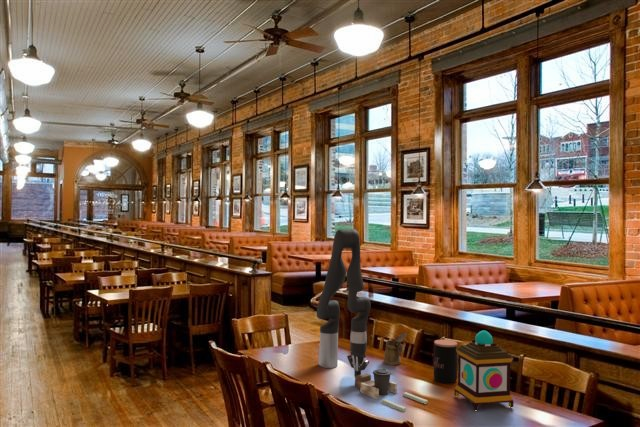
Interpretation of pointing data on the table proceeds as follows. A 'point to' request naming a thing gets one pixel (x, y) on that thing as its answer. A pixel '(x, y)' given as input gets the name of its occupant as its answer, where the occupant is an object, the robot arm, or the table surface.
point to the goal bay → (402, 406)
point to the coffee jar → (445, 361)
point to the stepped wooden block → (376, 389)
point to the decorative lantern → (484, 372)
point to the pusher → (364, 380)
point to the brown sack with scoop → (394, 350)
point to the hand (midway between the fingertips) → (357, 378)
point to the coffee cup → (382, 381)
